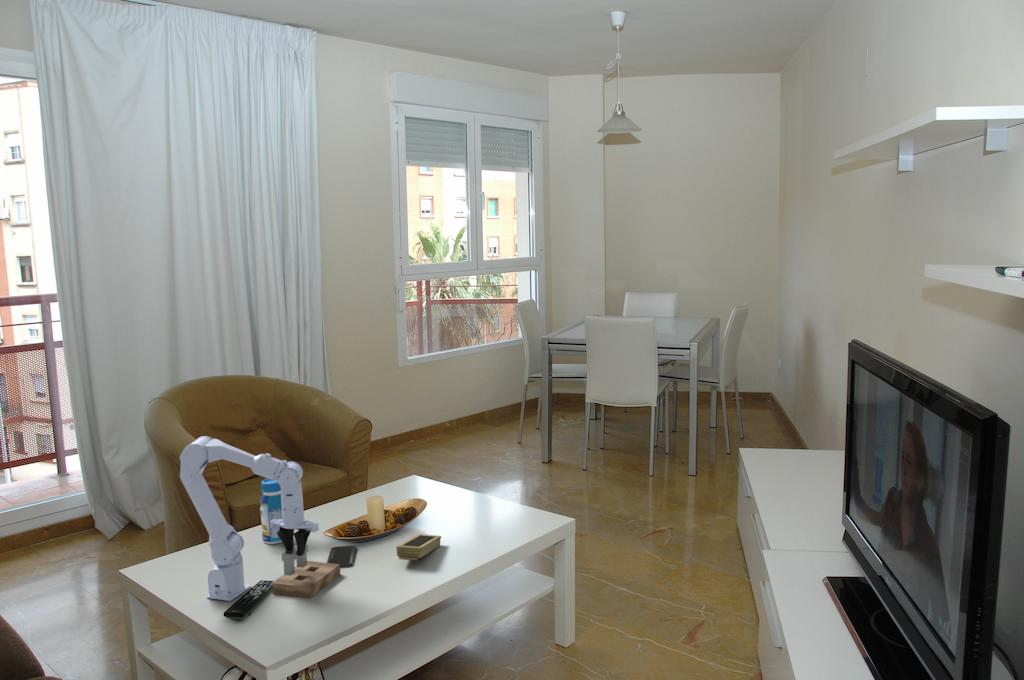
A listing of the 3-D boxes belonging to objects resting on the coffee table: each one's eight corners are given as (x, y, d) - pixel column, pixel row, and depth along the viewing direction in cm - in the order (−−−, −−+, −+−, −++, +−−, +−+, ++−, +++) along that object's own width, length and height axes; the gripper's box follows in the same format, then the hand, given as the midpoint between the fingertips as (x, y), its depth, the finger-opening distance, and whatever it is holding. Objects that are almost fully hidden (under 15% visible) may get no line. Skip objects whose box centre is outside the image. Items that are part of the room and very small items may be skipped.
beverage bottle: (282, 545, 254) (278, 484, 251) (257, 544, 255) (253, 484, 253) (293, 535, 262) (289, 477, 260) (269, 534, 263) (265, 476, 261)
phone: (356, 545, 250) (352, 564, 235) (356, 548, 250) (352, 567, 235) (331, 547, 249) (325, 566, 234) (331, 550, 249) (325, 569, 234)
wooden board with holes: (310, 598, 215) (309, 587, 214) (272, 593, 218) (271, 582, 218) (340, 574, 230) (339, 564, 229) (304, 570, 233) (303, 560, 233)
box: (395, 563, 233) (395, 546, 233) (419, 547, 255) (420, 531, 255) (421, 565, 231) (422, 548, 232) (444, 549, 253) (444, 533, 254)
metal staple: (292, 575, 216) (290, 554, 215) (282, 574, 217) (281, 553, 216) (308, 565, 223) (307, 544, 223) (299, 564, 224) (298, 543, 224)
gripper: (323, 504, 220) (326, 551, 221) (278, 500, 224) (282, 546, 226) (309, 512, 213) (312, 560, 215) (263, 508, 218) (267, 555, 219)
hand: (295, 554), depth 220 cm, fingers closed on metal staple, 3 cm apart
